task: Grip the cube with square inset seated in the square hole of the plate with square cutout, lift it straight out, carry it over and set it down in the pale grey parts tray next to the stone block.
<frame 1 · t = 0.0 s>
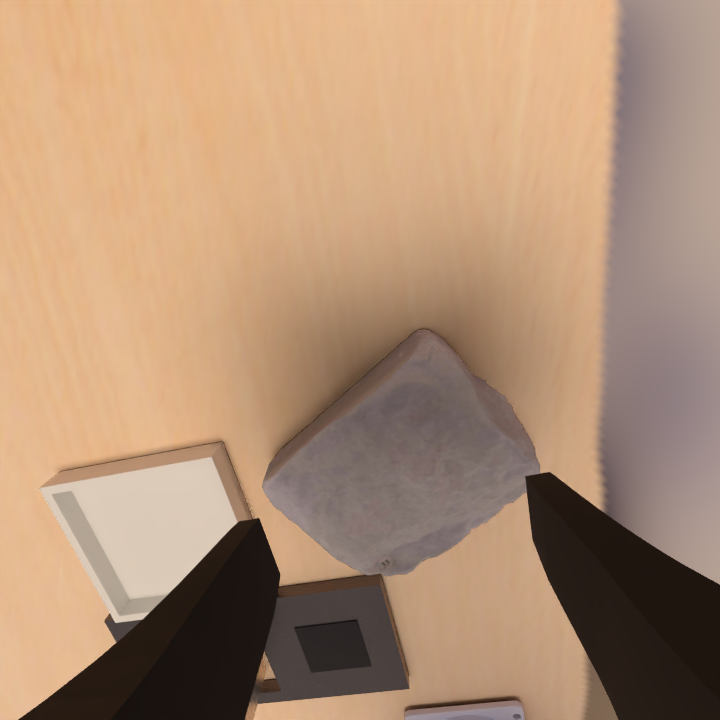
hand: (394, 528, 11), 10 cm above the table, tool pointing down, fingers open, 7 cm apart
cube with square inset: (220, 646, 27), resting in plate with square cutout
tray: (172, 528, 24), on the table
stone block: (404, 449, 22), on the table
plate with square cutout: (262, 643, 27), on the table
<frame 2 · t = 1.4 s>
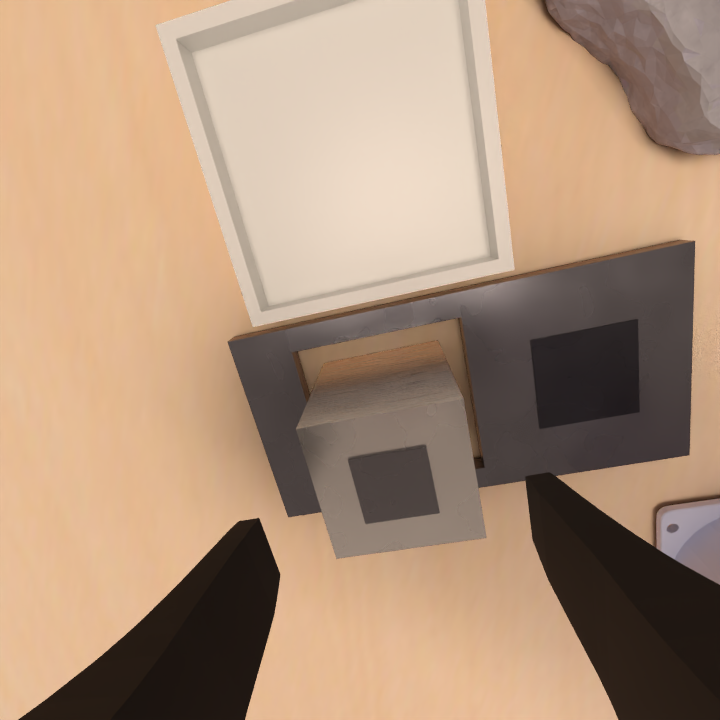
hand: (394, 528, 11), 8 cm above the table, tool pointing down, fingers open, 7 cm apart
cube with square inset: (391, 403, 18), resting in plate with square cutout
tray: (350, 161, 15), on the table
plate with square cutout: (458, 391, 18), on the table
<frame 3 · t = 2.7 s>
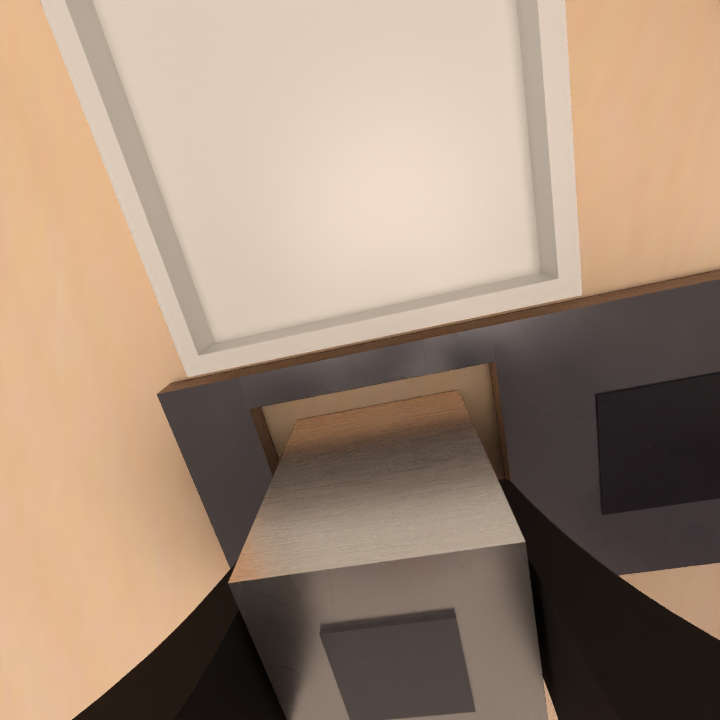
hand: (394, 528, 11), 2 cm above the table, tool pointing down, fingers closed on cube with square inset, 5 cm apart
cube with square inset: (392, 474, 13), resting in plate with square cutout, touching gripper
tray: (330, 130, 10), on the table
plate with square cutout: (486, 459, 13), on the table
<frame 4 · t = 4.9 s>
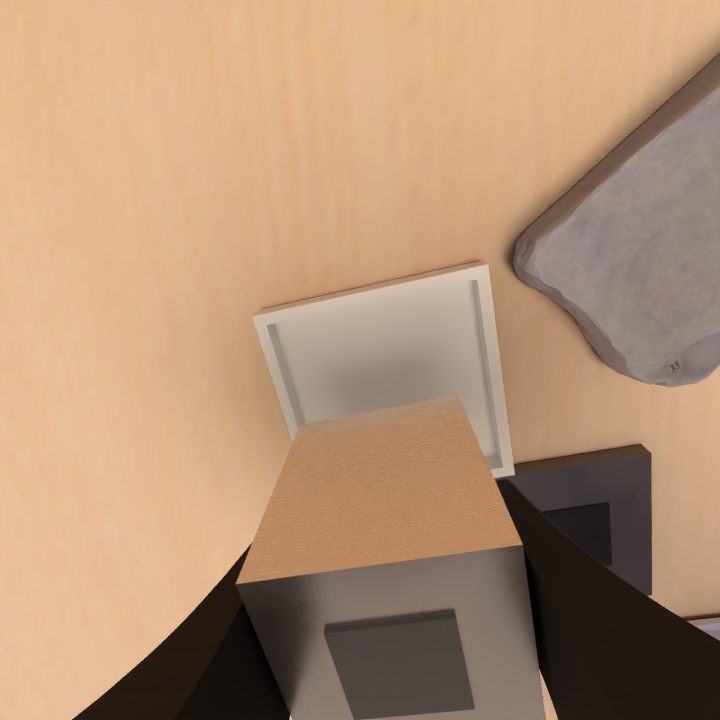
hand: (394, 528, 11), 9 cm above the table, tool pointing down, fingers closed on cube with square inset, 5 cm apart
cube with square inset: (393, 477, 13), point 7 cm above the table, touching gripper
tray: (389, 386, 20), on the table
stone block: (677, 234, 17), on the table
plate with square cutout: (470, 541, 22), on the table
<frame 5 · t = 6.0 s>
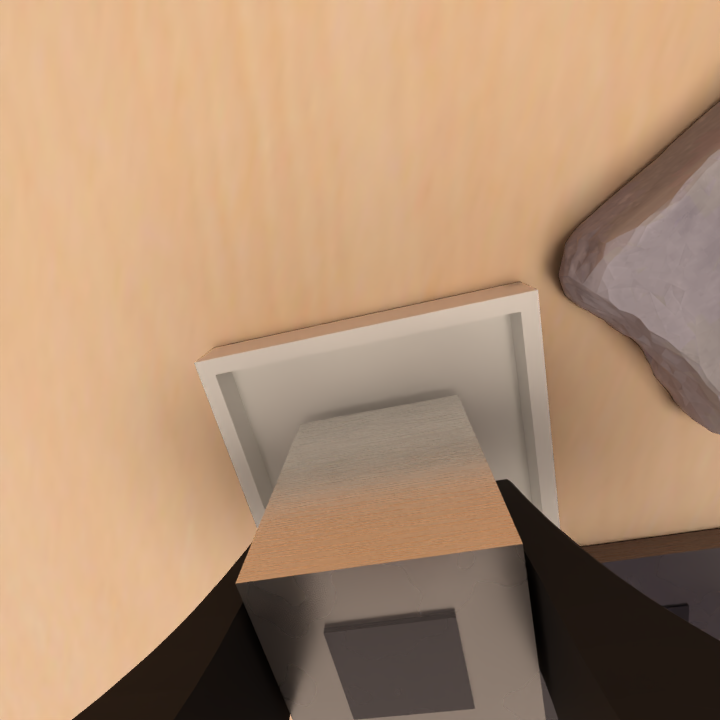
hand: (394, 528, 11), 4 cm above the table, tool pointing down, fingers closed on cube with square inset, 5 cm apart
cube with square inset: (393, 477, 13), point 1 cm above the table, touching gripper
tray: (391, 450, 14), on the table
plate with square cutout: (496, 642, 17), on the table
when the fingers open (4 cm above the table, at t = 6.9 s): cube with square inset stays where it is, resting on tray.
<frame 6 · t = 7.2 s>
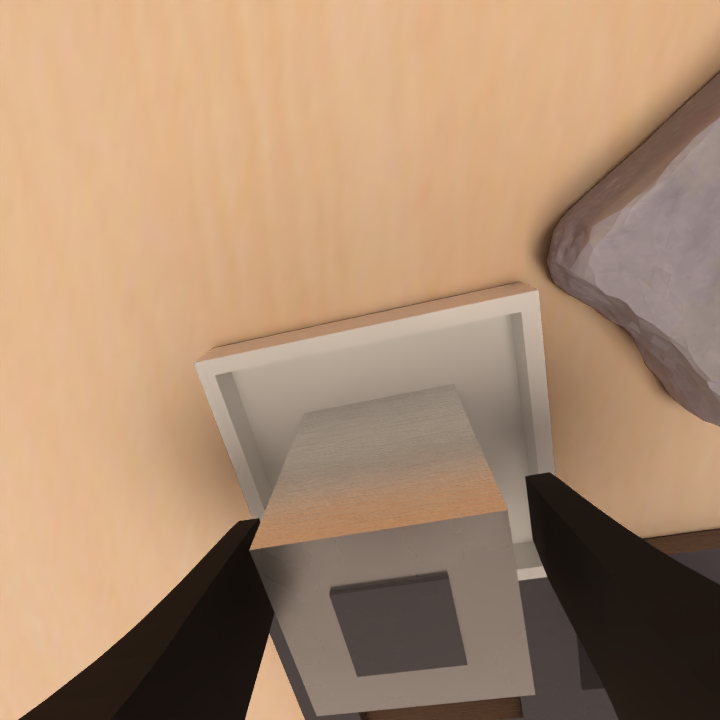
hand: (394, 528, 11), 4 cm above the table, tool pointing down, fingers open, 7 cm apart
cube with square inset: (393, 462, 14), resting on tray
tray: (391, 451, 14), on the table
plate with square cutout: (496, 643, 17), on the table
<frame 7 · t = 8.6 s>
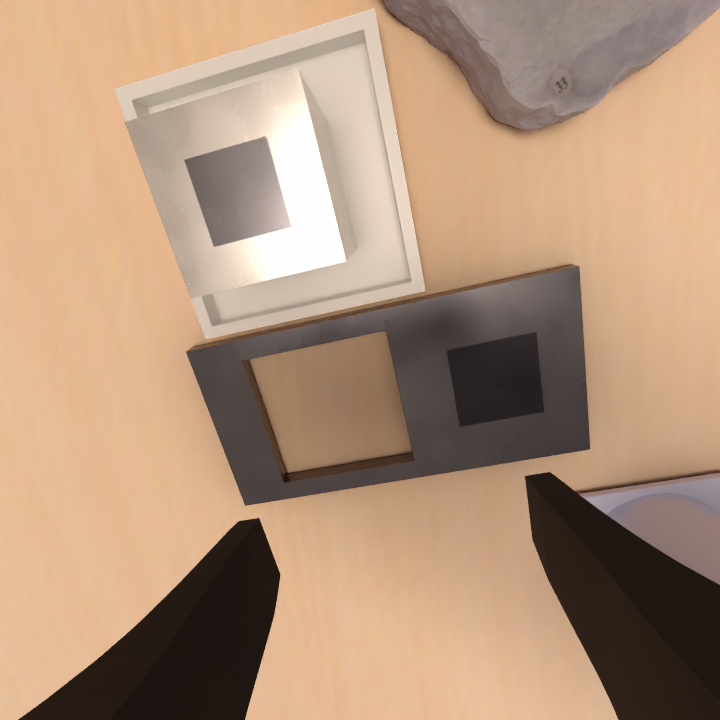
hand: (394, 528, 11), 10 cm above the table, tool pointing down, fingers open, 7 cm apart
cube with square inset: (286, 202, 17), resting on tray
tray: (287, 197, 18), on the table
plate with square cutout: (390, 394, 20), on the table
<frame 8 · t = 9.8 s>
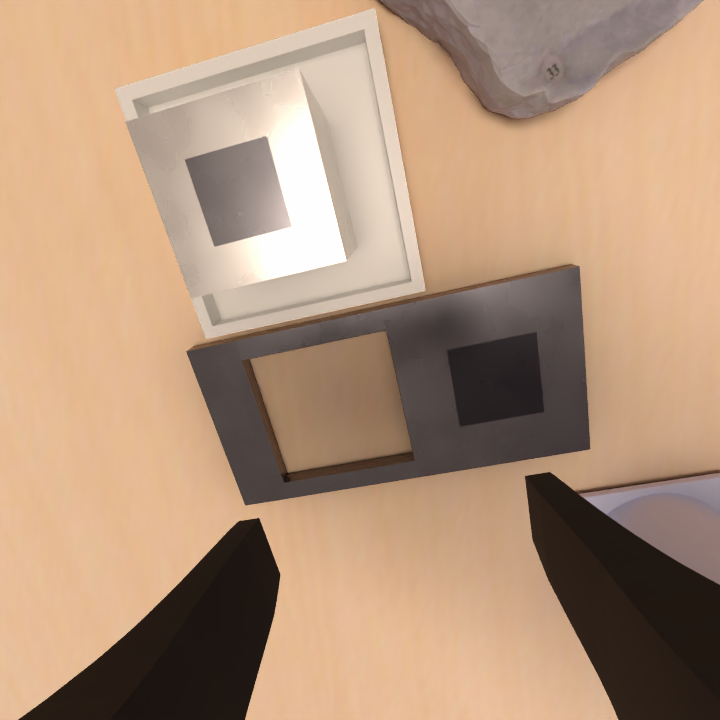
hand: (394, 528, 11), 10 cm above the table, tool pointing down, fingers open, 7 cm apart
cube with square inset: (286, 202, 17), resting on tray
tray: (287, 197, 18), on the table
plate with square cutout: (390, 394, 20), on the table
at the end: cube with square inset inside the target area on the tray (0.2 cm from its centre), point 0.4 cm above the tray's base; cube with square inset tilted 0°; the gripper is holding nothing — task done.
